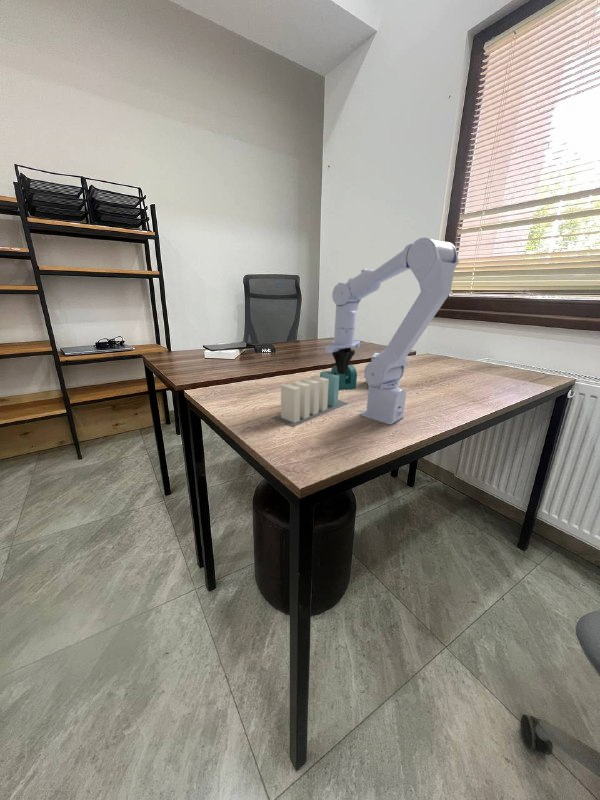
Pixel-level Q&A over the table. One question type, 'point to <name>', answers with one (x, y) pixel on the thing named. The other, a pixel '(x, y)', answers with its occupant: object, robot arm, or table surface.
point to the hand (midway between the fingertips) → (341, 373)
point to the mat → (311, 416)
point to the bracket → (345, 377)
